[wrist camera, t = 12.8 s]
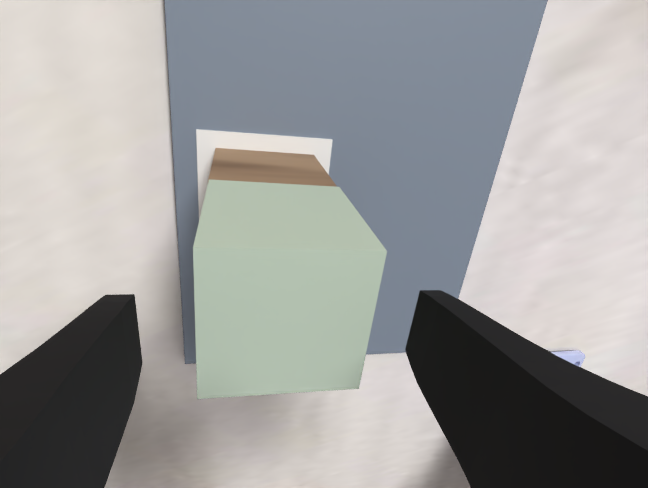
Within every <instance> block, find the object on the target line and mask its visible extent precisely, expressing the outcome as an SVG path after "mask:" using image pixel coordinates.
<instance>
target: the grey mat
mask: <svg viewBox="0 0 648 488" xmlns="http://www.w3.org/2000/svg"><path fill="white" fill-rule="evenodd" d="M164 1H165V18H166V36H167V54H168V71H169V89H170V107H171V124H172V142H173V160H174V177H175V195H176V213H177V230H178V248H179V266H180V283H181V301H182V318H183V336H184V354H185V364H191V363H196V338H195V302H194V267H193V245H194V241H195V237H196V232H197V228H198V224H199V220H200V215H201V211H202V207H203V202H204V198H205V194H206V190H207V185H208V178H209V173H210V169H211V165H212V161H213V157H214V153H215V149H216V148H225V149H240V150H254V151H268V152H282V153H296V154H310V155H314V156H315V157H316V158H317V160H318V161H319V162H320V164H321V165H322V167H323V168H324V169H325V171H326V172H327V173H328V175H329V176H330V178H331V179H332V180H333V182H334V183H335V184H336V186H337V187H340V188H341V190H342V191H343V192H344V194H345V195H346V196H347V198H348V199H349V200H350V202H351V203H352V204H353V206H354V207H355V209H356V210H357V211H358V213H359V214H360V215H361V217H362V218H363V219H364V221H365V222H366V223H367V225H368V226H369V227H370V229H371V230H372V231H373V233H374V234H375V235H376V237H377V238H378V239H379V241H380V242H381V243H382V245H383V246H384V248H385V249H386V250H387V254H386V259H385V264H384V269H383V274H382V278H381V283H380V288H379V293H378V298H377V303H376V307H375V312H374V317H373V322H372V327H371V332H370V336H369V341H368V346H367V351H366V354H383V353H402V352H406V351H405V348H406V344H407V340H408V336H409V332H410V328H411V324H412V320H413V316H414V312H415V308H416V304H417V300H418V296H419V292H420V290H441V291H443V292H445V293H448V294H450V295H451V296H453V297H455V298H457V299H458V297H459V294H460V290H461V287H462V284H463V280H464V277H465V274H466V270H467V267H468V264H469V260H470V257H471V254H472V250H473V247H474V244H475V241H476V237H477V234H478V231H479V227H480V224H481V221H482V217H483V214H484V211H485V207H486V204H487V201H488V197H489V194H490V191H491V187H492V184H493V181H494V177H495V174H496V171H497V167H498V164H499V161H500V157H501V154H502V151H503V147H504V144H505V141H506V137H507V134H508V131H509V127H510V124H511V121H512V117H513V114H514V111H515V107H516V104H517V101H518V97H519V94H520V91H521V87H522V84H523V81H524V77H525V74H526V71H527V67H528V64H529V61H530V57H531V54H532V51H533V47H534V44H535V41H536V38H537V34H538V31H539V28H540V24H541V21H542V18H543V14H544V11H545V8H546V4H547V1H548V0H164Z"/></svg>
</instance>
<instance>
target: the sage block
mask: <svg viewBox="0 0 648 488" xmlns="http://www.w3.org/2000/svg"><path fill="white" fill-rule="evenodd" d="M386 254H387V250H386V249H385V248H384V246H383V245H382V243H381V242H380V241H379V239H378V238H377V237H376V235H375V234H374V233H373V231H372V230H371V229H370V227H369V226H368V225H367V223H366V222H365V221H364V219H363V218H362V217H361V215H360V214H359V213H358V211H357V210H356V209H355V207H354V206H353V204H352V203H351V202H350V200H349V199H348V198H347V196H346V195H345V194H344V192H343V191H342V190H341V188H340V187H334V186H316V185H298V184H281V183H263V182H245V181H227V180H210V179H209V181H208V185H207V190H206V194H205V198H204V202H203V207H202V211H201V215H200V220H199V224H198V228H197V232H196V237H195V241H194V245H193V267H194V302H195V338H196V373H197V399H207V398H223V397H238V396H254V395H269V394H284V393H300V392H315V391H330V390H346V389H359V385H360V380H361V375H362V370H363V365H364V361H365V356H366V351H367V346H368V341H369V336H370V332H371V327H372V322H373V317H374V312H375V307H376V303H377V298H378V293H379V288H380V283H381V278H382V274H383V269H384V264H385V259H386Z"/></svg>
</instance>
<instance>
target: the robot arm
mask: <svg viewBox="0 0 648 488" xmlns="http://www.w3.org/2000/svg"><path fill="white" fill-rule="evenodd" d="M405 351H406V354H407V356H408V359H409V362H410V365H411V368H412V371H413V373H414V376H415V378H416V381H417V383H418V385H419V387H420V389H421V391H422V393H423V395H424V397H425V399H426V401H427V403H428V405H429V407H430V408H431V410H432V412H433V414H434V416H435V418H436V420H437V422H438V423H439V425H440V427H441V429H442V431H443V433H444V435H445V436H446V438H447V440H448V442H449V444H450V446H451V448H452V450H453V451H454V453H455V455H456V457H457V459H458V461H459V463H460V465H461V467H462V469H463V471H464V473H465V475H466V477H467V480H468V482H469V484H470V487H471V488H648V396H645V395H643V394H640V393H638V392H635V391H633V390H630V389H628V388H625V387H623V386H621V385H618V384H616V383H614V382H611V381H609V380H607V379H604V378H602V377H600V376H598V375H596V374H594V373H592V372H589V371H587V370H585V369H583V368H581V365H582V363H583V361H584V359H585V354H584V353H582V352H581V351H579V350H577V351H560V352H549V351H547V350H545V349H543V348H542V347H540V346H538V345H536V344H534V343H532V342H530V341H529V340H527V339H525V338H523V337H522V336H520V335H518V334H516V333H515V332H513V331H511V330H509V329H508V328H506V327H504V326H503V325H501V324H499V323H498V322H496V321H494V320H493V319H491V318H489V317H488V316H486V315H484V314H483V313H481V312H479V311H477V310H476V309H474V308H472V307H471V306H469V305H467V304H466V303H464V302H462V301H460V300H459V299H457V298H455V297H453V296H451V295H450V294H448V293H445V292H443V291H441V290H420V292H419V296H418V300H417V304H416V308H415V312H414V316H413V320H412V324H411V328H410V332H409V336H408V340H407V344H406V348H405ZM141 367H142V356H141V347H140V339H139V330H138V322H137V313H136V305H135V296H134V294H133V295H105V296H103V297H102V298H101V299H99V300H98V301H97V302H95V303H94V304H93V305H92V306H90V307H89V308H88V309H87V310H85V311H84V312H83V313H82V314H80V315H79V316H78V317H77V318H75V319H74V320H73V321H72V322H70V323H69V324H68V325H67V326H65V327H64V328H63V329H61V330H60V331H59V332H58V333H56V334H55V335H54V336H52V337H51V338H50V339H48V340H47V341H46V342H45V343H43V344H42V345H41V346H39V347H38V348H37V349H35V350H34V351H33V352H31V353H30V354H29V355H27V356H26V357H24V358H23V359H21V360H20V361H19V362H17V363H16V364H14V365H13V366H12V367H10V368H9V369H7V370H6V371H5V372H3V373H2V374H0V488H104V487H105V484H106V481H107V478H108V476H109V473H110V470H111V467H112V464H113V461H114V459H115V456H116V453H117V450H118V447H119V444H120V442H121V439H122V436H123V433H124V430H125V427H126V424H127V421H128V419H129V416H130V413H131V410H132V407H133V404H134V400H135V395H136V391H137V386H138V382H139V377H140V372H141Z"/></svg>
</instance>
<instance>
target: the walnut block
mask: <svg viewBox="0 0 648 488" xmlns="http://www.w3.org/2000/svg"><path fill="white" fill-rule="evenodd" d="M209 179H210V180H227V181H245V182H263V183H281V184H298V185H316V186H334V187H337V186H336V184H335V183H334V182H333V180H332V179H331V178H330V176H329V175H328V173H327V172H326V171H325V169H324V168H323V167H322V165H321V164H320V162H319V161H318V160H317V158H316V157H315V156H314V155H310V154H296V153H282V152H268V151H254V150H240V149H225V148H216V149H215V153H214V157H213V161H212V165H211V169H210V173H209V178H208V181H209Z"/></svg>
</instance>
